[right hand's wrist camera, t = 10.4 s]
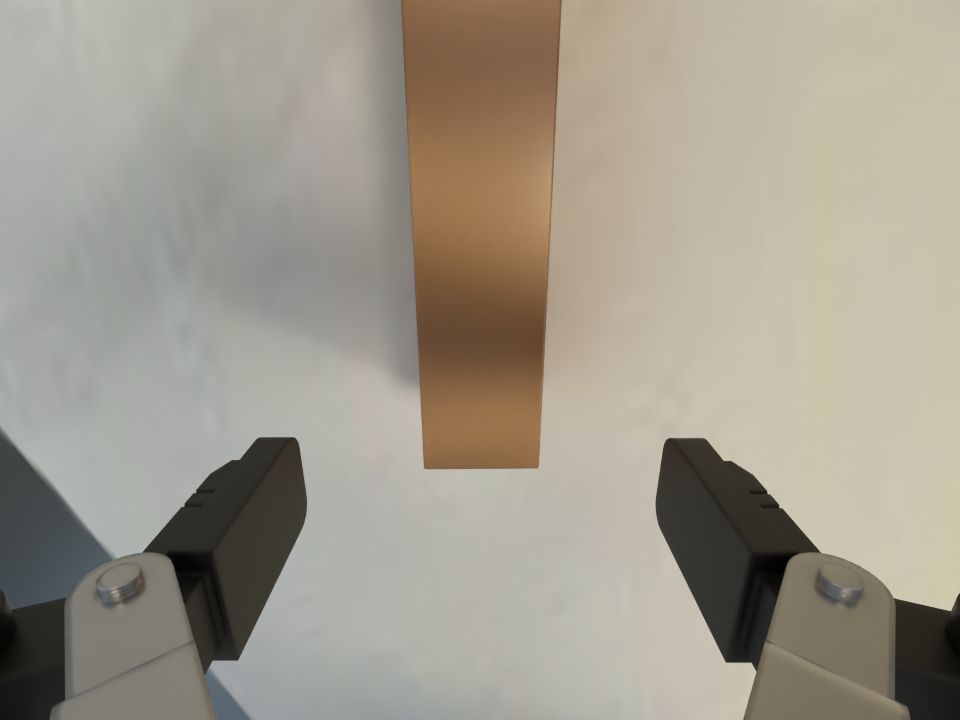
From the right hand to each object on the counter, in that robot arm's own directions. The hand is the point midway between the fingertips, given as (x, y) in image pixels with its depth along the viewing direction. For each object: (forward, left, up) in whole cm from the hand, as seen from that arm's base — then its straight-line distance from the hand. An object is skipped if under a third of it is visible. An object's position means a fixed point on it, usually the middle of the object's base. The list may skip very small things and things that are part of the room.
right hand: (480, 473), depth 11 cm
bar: (+8, -24, -14) cm, 29 cm away
